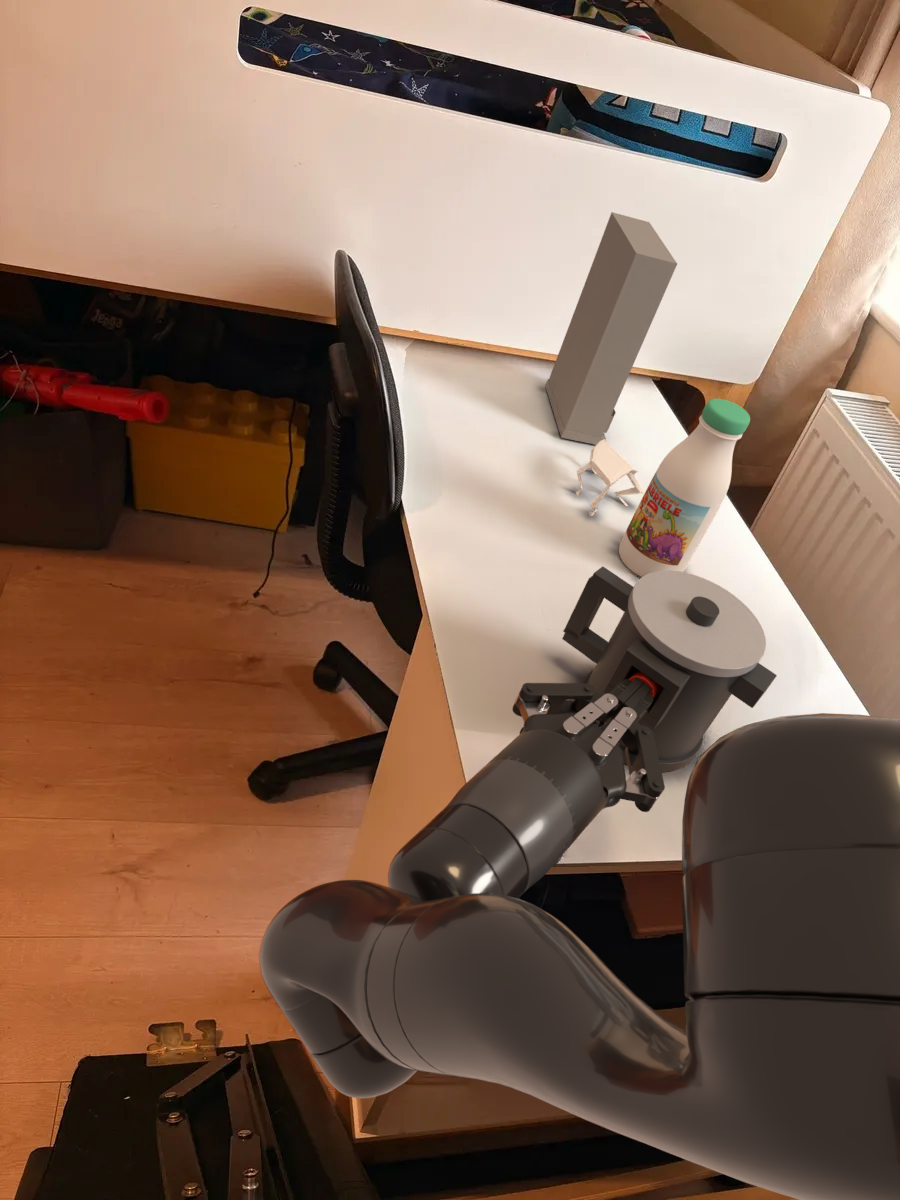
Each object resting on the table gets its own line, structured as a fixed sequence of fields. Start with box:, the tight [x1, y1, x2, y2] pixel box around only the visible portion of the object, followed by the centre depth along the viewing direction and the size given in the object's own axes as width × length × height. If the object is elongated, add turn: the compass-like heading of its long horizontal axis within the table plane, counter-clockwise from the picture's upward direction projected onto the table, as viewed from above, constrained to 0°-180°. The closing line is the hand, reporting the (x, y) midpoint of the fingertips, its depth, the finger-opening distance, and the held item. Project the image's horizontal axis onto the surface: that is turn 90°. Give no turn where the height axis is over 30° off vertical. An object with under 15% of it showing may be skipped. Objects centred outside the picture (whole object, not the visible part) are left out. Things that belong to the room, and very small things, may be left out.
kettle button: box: [629, 670, 662, 699], centre depth 71 cm, size 2×2×2 cm
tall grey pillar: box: [544, 211, 678, 446], centre depth 115 cm, size 14×6×25 cm, turn 4°
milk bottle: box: [618, 398, 751, 578], centre depth 95 cm, size 8×8×20 cm
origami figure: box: [575, 439, 644, 517], centre depth 109 cm, size 12×8×5 cm
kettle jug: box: [561, 566, 777, 773], centre depth 77 cm, size 13×17×14 cm
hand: (639, 690), depth 71 cm, fingers closed
